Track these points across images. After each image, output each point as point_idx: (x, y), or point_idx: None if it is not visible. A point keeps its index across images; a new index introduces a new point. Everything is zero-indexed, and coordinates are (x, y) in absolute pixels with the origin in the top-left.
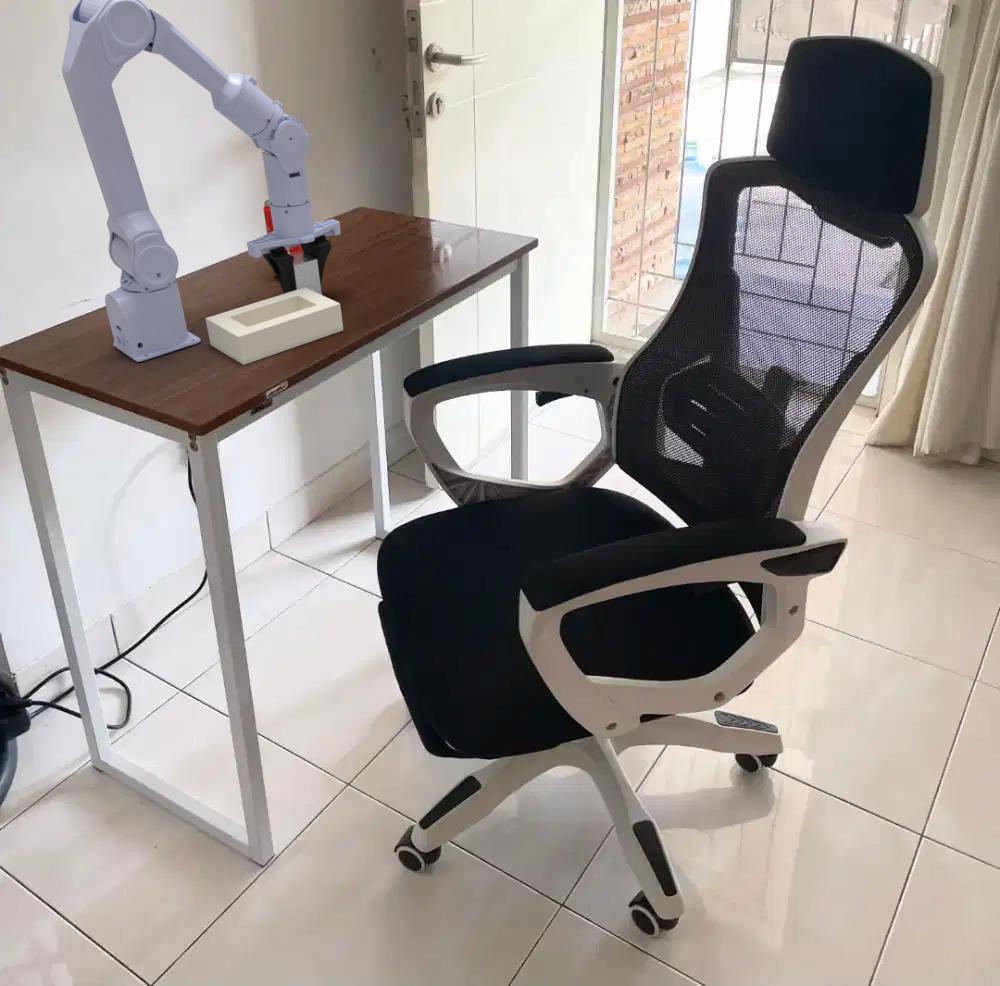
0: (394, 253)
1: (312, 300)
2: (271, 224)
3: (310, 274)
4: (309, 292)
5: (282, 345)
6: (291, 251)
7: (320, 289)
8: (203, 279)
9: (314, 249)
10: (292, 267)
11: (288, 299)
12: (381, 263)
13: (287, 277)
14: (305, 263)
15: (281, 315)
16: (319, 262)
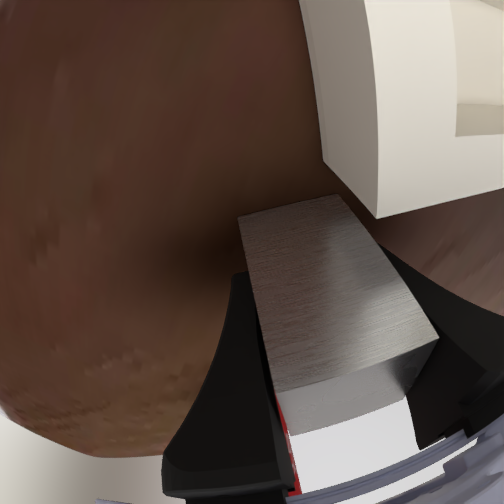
0: (29, 387)
1: (440, 15)
2: None
3: (316, 308)
4: (401, 133)
5: None
6: None
7: (248, 254)
8: None
9: (282, 453)
10: (443, 328)
11: (485, 132)
12: (43, 371)
13: (438, 289)
14: (364, 361)
15: (470, 113)
16: (253, 374)
